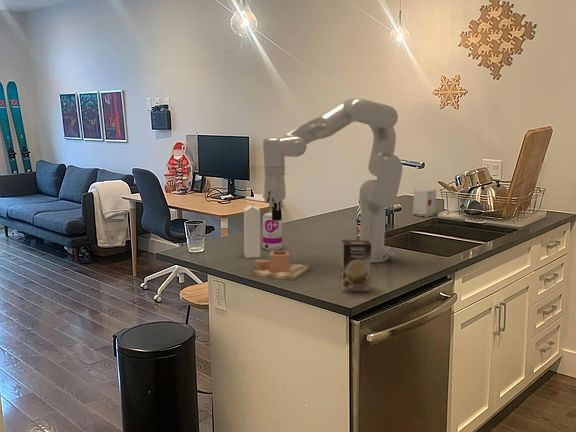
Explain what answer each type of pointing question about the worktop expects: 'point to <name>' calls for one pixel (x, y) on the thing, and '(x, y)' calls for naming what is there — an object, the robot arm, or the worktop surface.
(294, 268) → the post base
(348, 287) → the coffee box
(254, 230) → the milk
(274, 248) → the supplement can
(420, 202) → the supplement box
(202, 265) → the worktop surface
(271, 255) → the square nut with handle
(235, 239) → the worktop surface
